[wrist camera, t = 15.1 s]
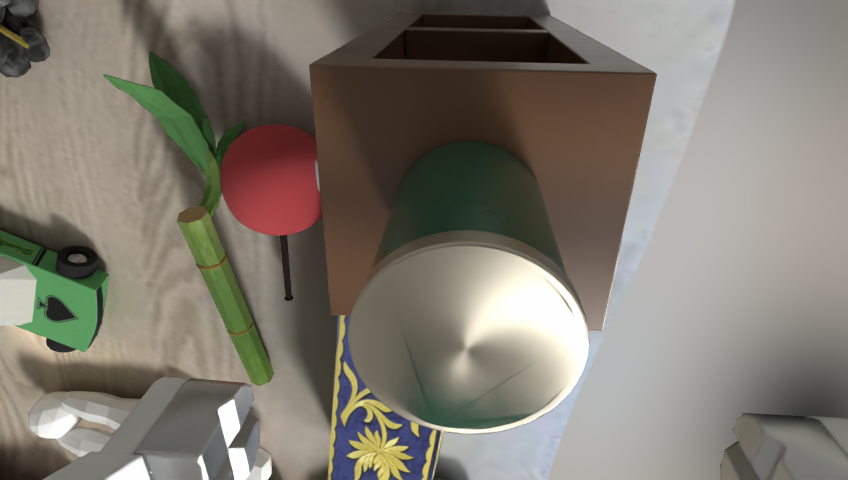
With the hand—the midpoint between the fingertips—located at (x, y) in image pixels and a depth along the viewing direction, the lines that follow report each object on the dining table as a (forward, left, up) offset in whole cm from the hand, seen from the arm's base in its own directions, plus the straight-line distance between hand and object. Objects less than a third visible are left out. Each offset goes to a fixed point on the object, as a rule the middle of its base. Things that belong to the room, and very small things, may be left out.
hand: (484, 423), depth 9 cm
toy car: (+17, -41, -31) cm, 54 cm away
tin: (0, 0, -9) cm, 9 cm away
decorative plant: (+13, -19, -31) cm, 39 cm away
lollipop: (+18, -14, -29) cm, 37 cm away
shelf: (0, 0, -31) cm, 31 cm away
